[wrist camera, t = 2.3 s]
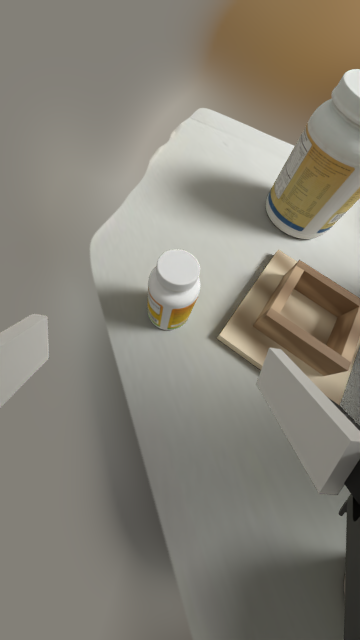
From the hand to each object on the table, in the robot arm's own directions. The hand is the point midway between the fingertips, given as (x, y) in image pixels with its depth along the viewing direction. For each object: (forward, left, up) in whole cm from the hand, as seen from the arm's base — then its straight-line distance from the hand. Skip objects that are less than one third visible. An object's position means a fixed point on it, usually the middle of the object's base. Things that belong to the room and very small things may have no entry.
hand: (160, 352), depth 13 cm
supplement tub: (-38, +2, -13) cm, 40 cm away
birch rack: (-18, +11, -13) cm, 25 cm away
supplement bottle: (-8, -4, -13) cm, 16 cm away
